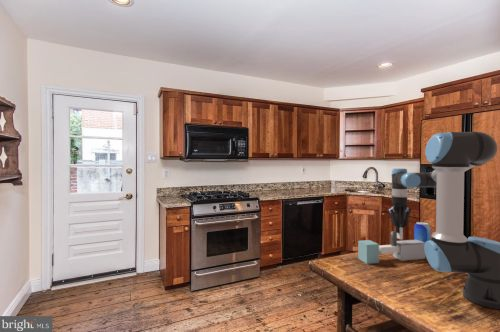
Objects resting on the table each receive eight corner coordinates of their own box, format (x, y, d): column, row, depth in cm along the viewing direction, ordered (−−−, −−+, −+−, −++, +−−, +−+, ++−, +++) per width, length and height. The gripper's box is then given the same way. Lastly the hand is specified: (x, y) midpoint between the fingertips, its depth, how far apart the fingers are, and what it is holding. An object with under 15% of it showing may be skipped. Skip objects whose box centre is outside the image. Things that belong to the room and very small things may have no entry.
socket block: (378, 262, 145) (378, 244, 144) (366, 263, 143) (366, 244, 143) (369, 257, 152) (369, 240, 152) (358, 258, 151) (358, 240, 151)
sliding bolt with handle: (420, 251, 151) (420, 231, 151) (381, 254, 147) (381, 233, 147) (415, 249, 155) (415, 229, 155) (377, 252, 151) (376, 231, 151)
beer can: (411, 248, 168) (411, 222, 168) (420, 246, 172) (419, 221, 172) (425, 252, 161) (424, 225, 160) (433, 250, 164) (433, 223, 164)
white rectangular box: (425, 258, 150) (425, 242, 150) (401, 260, 148) (401, 244, 148) (416, 254, 157) (415, 239, 157) (393, 256, 154) (392, 240, 154)
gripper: (405, 195, 156) (405, 236, 156) (384, 195, 154) (384, 237, 154) (415, 196, 148) (415, 239, 148) (393, 197, 146) (393, 241, 146)
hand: (399, 238), depth 151 cm, fingers closed
